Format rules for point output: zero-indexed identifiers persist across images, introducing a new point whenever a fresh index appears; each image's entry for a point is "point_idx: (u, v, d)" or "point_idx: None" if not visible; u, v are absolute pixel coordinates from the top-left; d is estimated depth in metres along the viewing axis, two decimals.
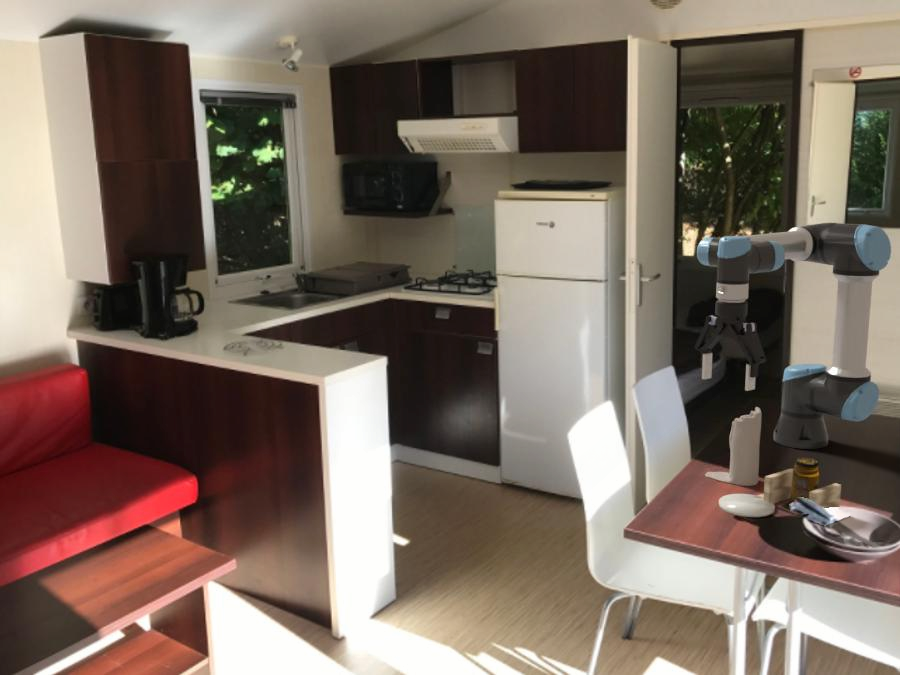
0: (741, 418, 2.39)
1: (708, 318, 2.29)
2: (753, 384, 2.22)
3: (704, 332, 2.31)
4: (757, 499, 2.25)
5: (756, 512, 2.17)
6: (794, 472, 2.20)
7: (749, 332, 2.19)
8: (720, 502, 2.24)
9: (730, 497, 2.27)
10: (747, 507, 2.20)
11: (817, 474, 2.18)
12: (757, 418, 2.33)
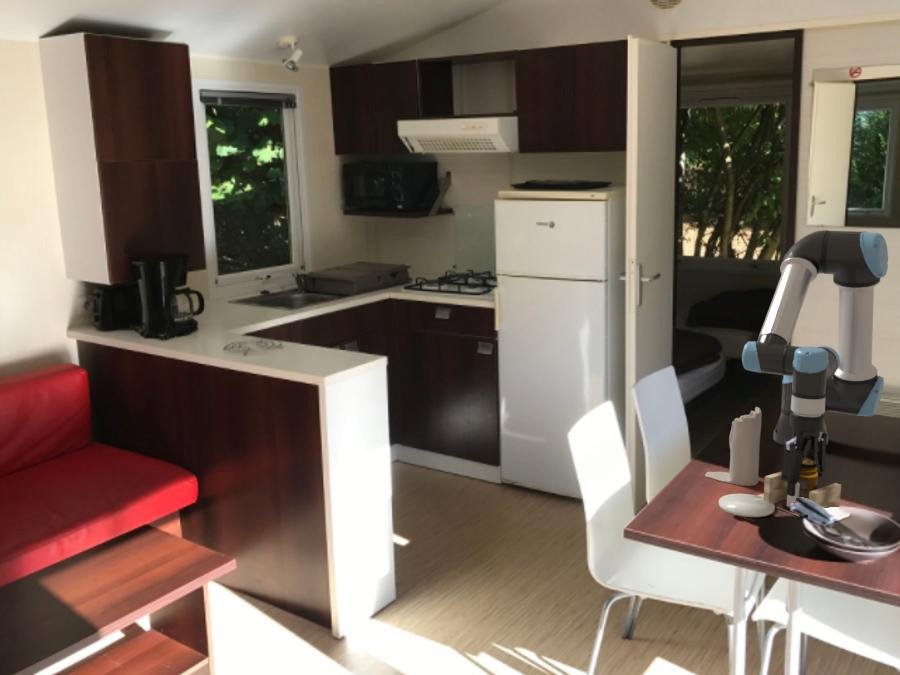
0: (741, 418, 2.39)
1: None
2: None
3: None
4: (757, 499, 2.25)
5: (756, 512, 2.17)
6: None
7: None
8: (720, 502, 2.24)
9: (730, 497, 2.27)
10: (747, 507, 2.20)
11: (816, 475, 2.18)
12: (757, 418, 2.33)
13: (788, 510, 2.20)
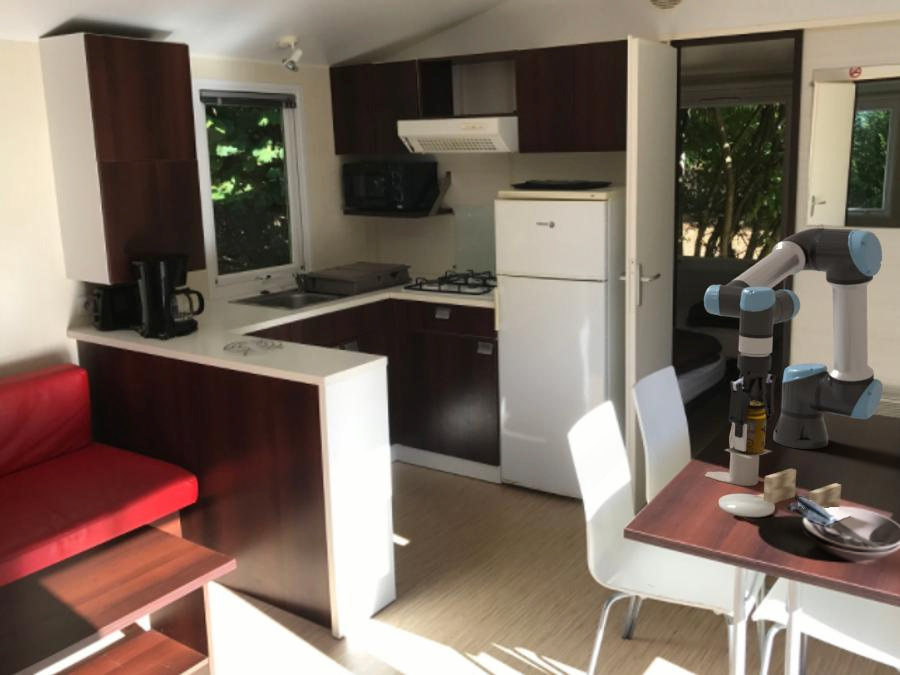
0: None
1: None
2: (742, 445, 2.17)
3: None
4: (757, 499, 2.25)
5: (756, 512, 2.17)
6: None
7: None
8: (720, 502, 2.24)
9: (730, 497, 2.27)
10: (747, 507, 2.20)
11: (764, 416, 2.16)
12: None
13: (736, 452, 2.18)
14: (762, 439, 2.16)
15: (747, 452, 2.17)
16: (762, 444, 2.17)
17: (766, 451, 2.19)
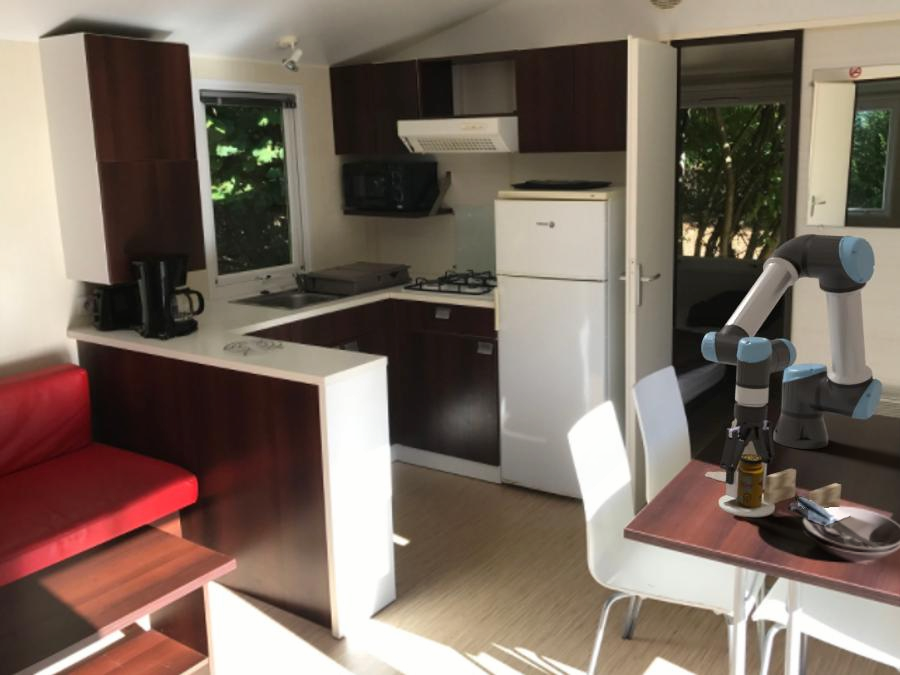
0: None
1: None
2: (733, 492, 2.18)
3: None
4: None
5: (756, 512, 2.17)
6: (739, 469, 2.20)
7: None
8: (720, 502, 2.24)
9: (730, 497, 2.27)
10: None
11: (761, 470, 2.19)
12: None
13: (734, 506, 2.21)
14: (759, 493, 2.19)
15: (745, 506, 2.20)
16: (759, 498, 2.20)
17: (763, 504, 2.22)
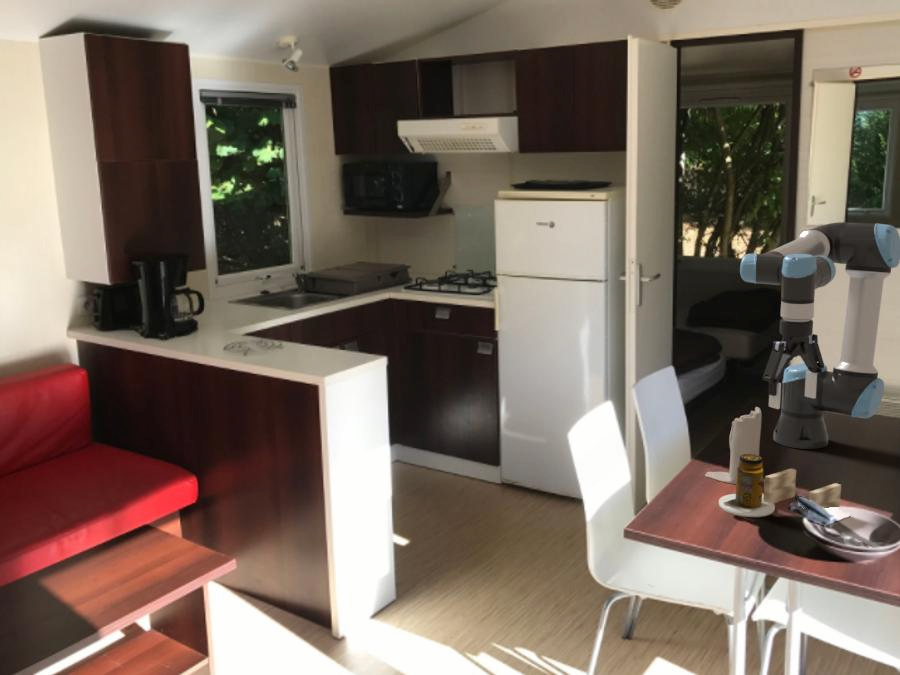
0: (741, 418, 2.39)
1: None
2: (776, 403, 2.22)
3: None
4: None
5: (756, 512, 2.17)
6: (739, 469, 2.20)
7: None
8: (720, 502, 2.24)
9: (730, 497, 2.27)
10: None
11: (761, 470, 2.19)
12: (757, 418, 2.33)
13: (734, 506, 2.21)
14: (759, 493, 2.19)
15: (745, 506, 2.20)
16: (759, 498, 2.20)
17: (763, 504, 2.21)
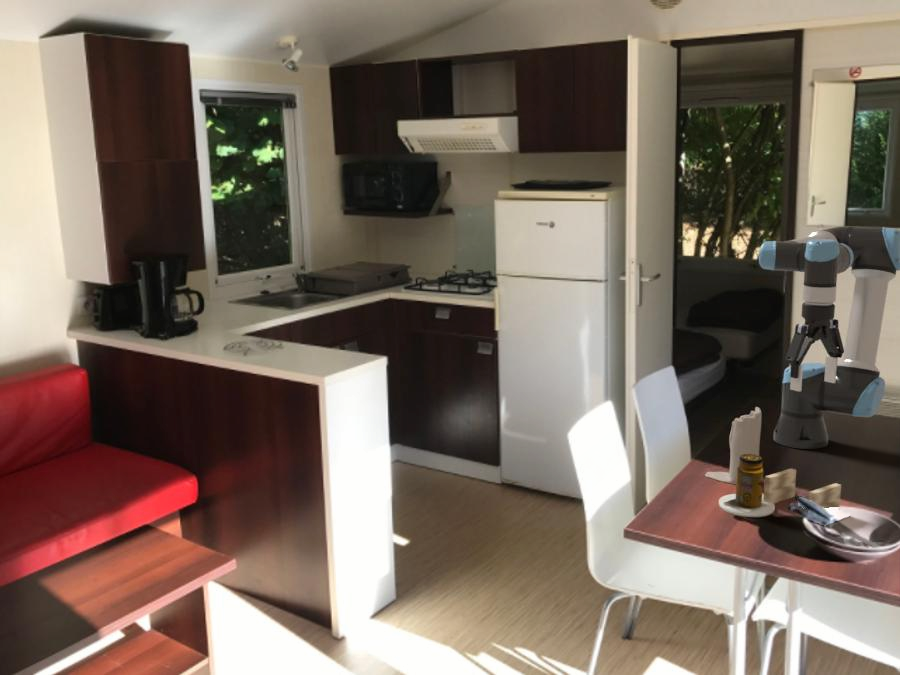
0: (741, 418, 2.39)
1: None
2: (797, 386, 2.25)
3: None
4: None
5: (756, 512, 2.17)
6: (739, 469, 2.20)
7: None
8: (720, 502, 2.24)
9: (730, 497, 2.27)
10: None
11: (761, 470, 2.19)
12: (757, 418, 2.33)
13: (734, 506, 2.21)
14: (759, 493, 2.19)
15: (745, 506, 2.20)
16: (759, 498, 2.20)
17: (763, 504, 2.21)
